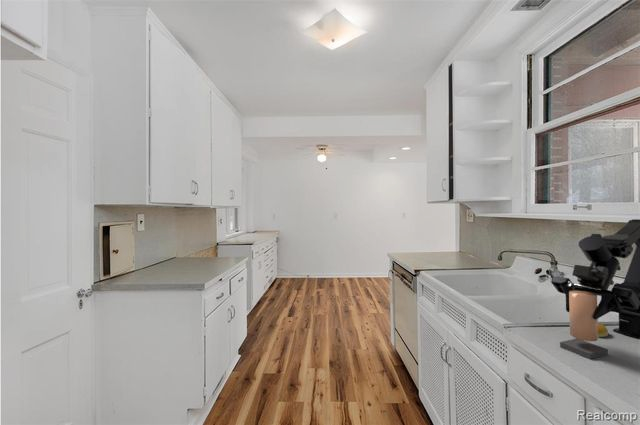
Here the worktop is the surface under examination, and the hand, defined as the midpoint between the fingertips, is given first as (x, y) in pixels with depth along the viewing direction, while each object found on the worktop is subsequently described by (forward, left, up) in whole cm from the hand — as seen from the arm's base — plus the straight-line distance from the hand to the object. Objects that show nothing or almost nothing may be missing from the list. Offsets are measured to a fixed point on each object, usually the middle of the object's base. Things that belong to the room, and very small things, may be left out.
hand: (580, 314), depth 83 cm
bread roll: (-17, -8, -11) cm, 22 cm away
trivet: (-1, 0, -11) cm, 11 cm away
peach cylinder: (-1, 0, -7) cm, 7 cm away
